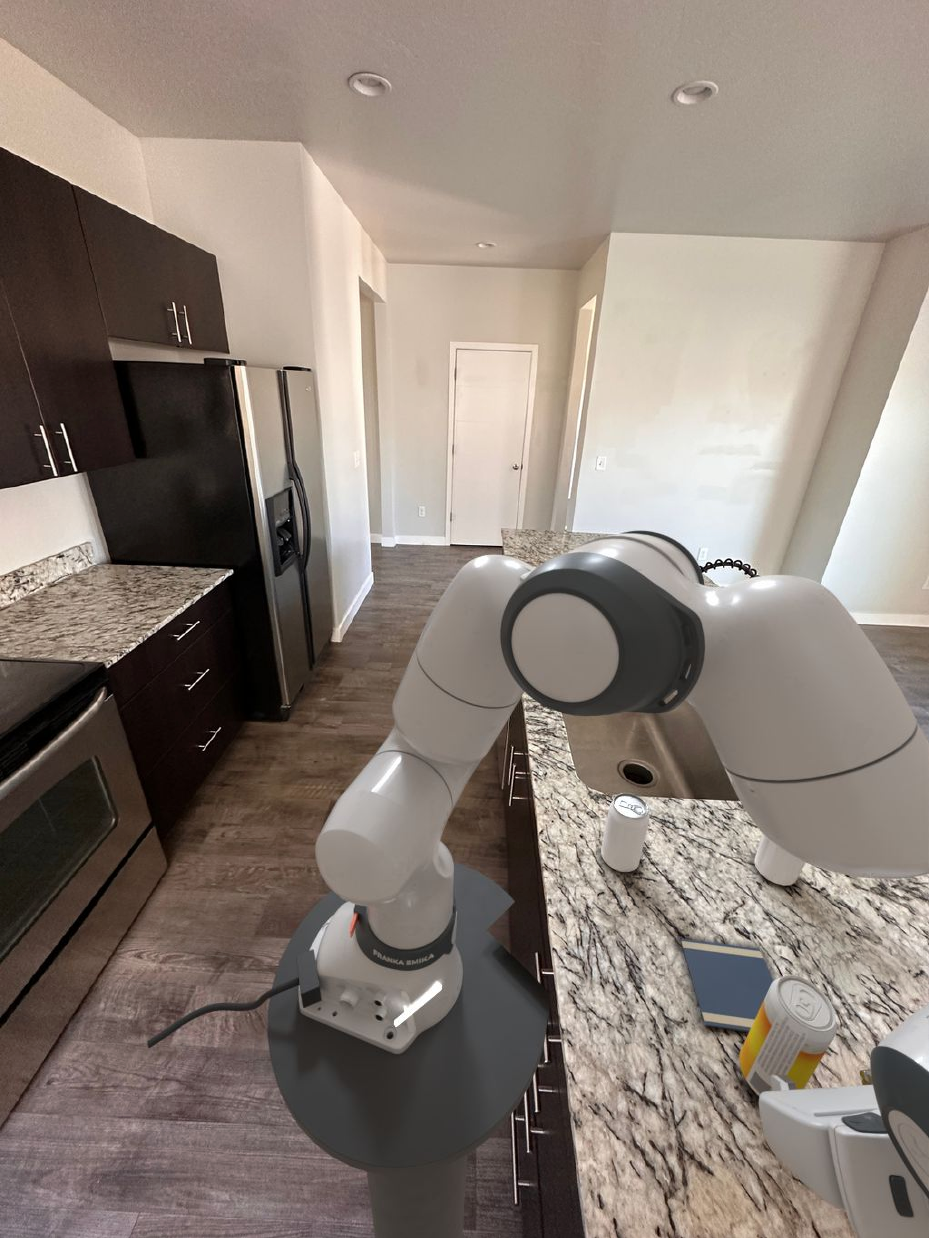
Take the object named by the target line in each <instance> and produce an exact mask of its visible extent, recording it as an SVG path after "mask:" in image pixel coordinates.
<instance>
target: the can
mask: <svg viewBox="0 0 929 1238" xmlns="http://www.w3.org/2000/svg"><path fill="white" fill-rule="evenodd" d="M650 819H651V817H650V810H649V806H648V804H647V802H646V801H645V800H644V799H643V798H642V797H640V796H638V795H636V794H633V793H630V792H620V793H618V794H616V795H615V796H614V797H613V799H612V801H611V803H610V804H609V807H608V811H607V816H606V820H605V821H606V822H605V826H604V832H603V837H602V843H601V849H600V854H601V857H602V859H603V862H605V863H606V865H607V866H609V867H610V868H611V869H613V870H615V871H617V872H620V873H628V872H633V871H635V870H636V869H637V868H638V867H639V865H640V861H641V857H642V853H643V849H644V845H645V841H646V836H647V832H648V828H649V824H650Z"/></svg>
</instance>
